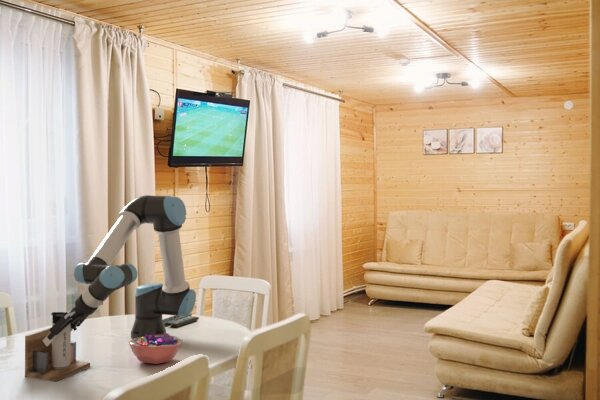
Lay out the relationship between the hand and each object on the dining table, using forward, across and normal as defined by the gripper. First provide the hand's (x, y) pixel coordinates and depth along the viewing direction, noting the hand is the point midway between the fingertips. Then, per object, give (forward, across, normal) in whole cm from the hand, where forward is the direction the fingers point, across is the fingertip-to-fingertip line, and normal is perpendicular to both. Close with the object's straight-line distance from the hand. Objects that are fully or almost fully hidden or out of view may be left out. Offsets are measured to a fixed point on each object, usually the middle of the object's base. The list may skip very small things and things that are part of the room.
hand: (52, 340), depth 223 cm
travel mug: (+4, 0, -9) cm, 10 cm away
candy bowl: (-12, +23, -28) cm, 38 cm away
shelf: (+5, 0, -10) cm, 11 cm away
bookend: (+7, -7, -7) cm, 12 cm away
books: (+7, +7, -7) cm, 12 cm away
